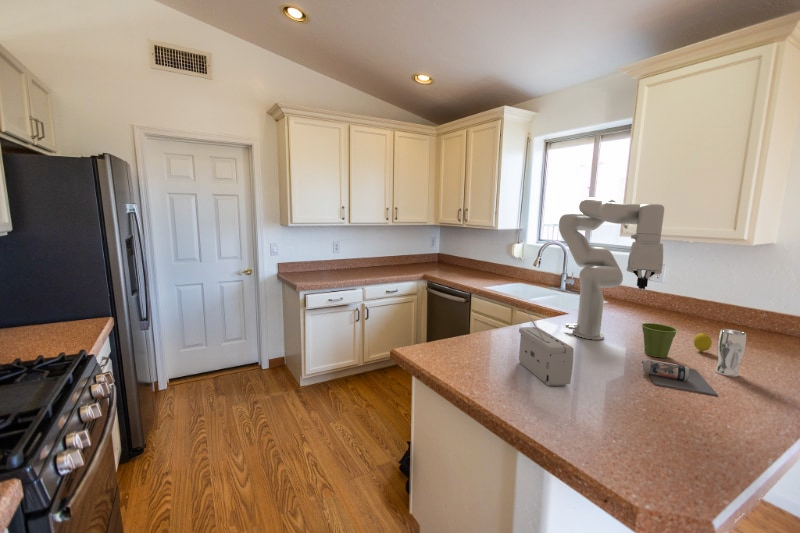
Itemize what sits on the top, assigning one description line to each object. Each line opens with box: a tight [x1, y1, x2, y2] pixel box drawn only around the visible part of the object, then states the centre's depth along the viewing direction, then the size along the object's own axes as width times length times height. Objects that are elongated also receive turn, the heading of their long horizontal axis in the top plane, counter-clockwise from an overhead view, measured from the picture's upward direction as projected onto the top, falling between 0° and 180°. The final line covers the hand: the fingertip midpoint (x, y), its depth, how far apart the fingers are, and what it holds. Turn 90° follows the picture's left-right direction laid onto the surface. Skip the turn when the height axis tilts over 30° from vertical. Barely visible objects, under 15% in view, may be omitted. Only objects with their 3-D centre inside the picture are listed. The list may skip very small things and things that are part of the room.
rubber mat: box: [641, 360, 719, 397], centre depth 121 cm, size 16×20×1 cm
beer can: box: [642, 358, 690, 381], centre depth 121 cm, size 5×5×12 cm
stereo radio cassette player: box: [518, 309, 575, 387], centre depth 120 cm, size 21×8×20 cm, turn 9°
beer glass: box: [714, 328, 747, 378], centre depth 125 cm, size 7×7×15 cm
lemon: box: [693, 332, 712, 353], centre depth 146 cm, size 6×6×8 cm
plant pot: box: [640, 322, 679, 359], centre depth 141 cm, size 12×12×11 cm
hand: (641, 288), depth 134 cm, fingers closed
